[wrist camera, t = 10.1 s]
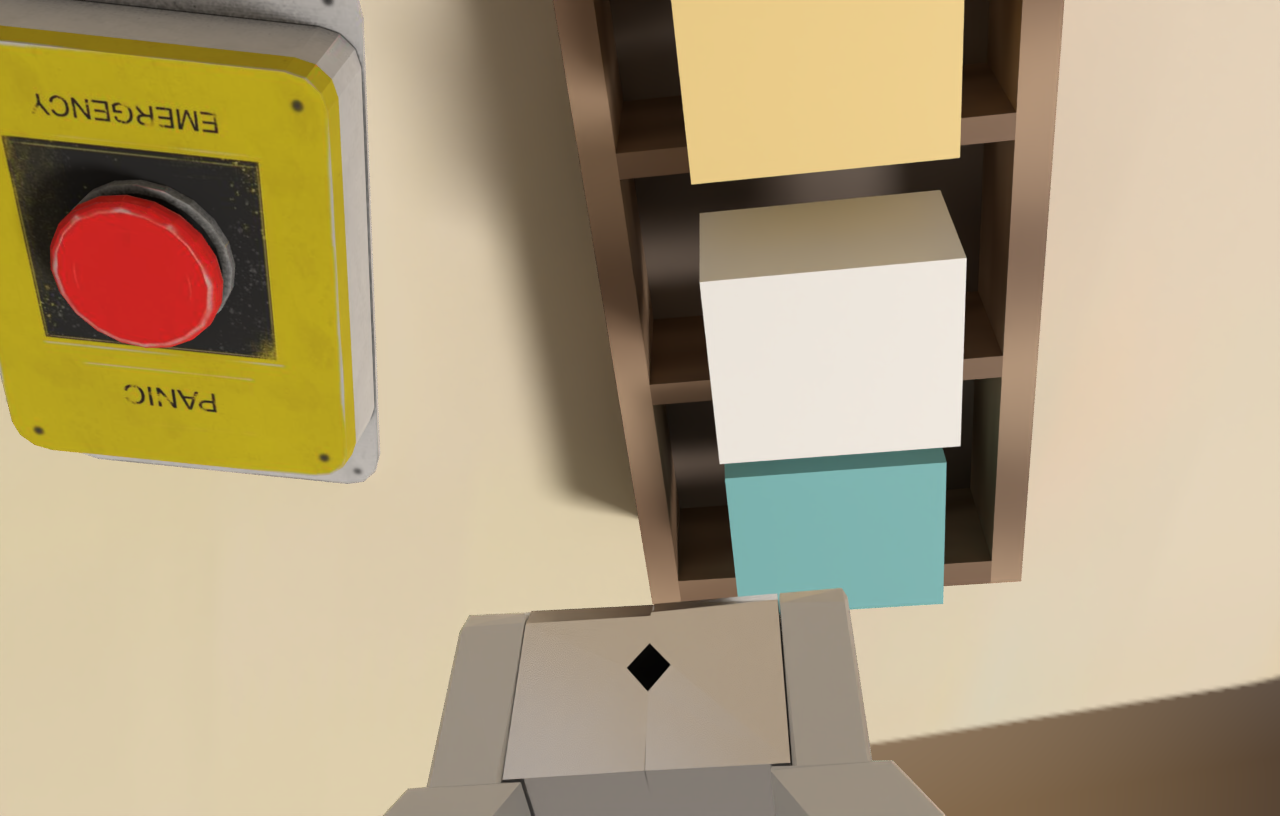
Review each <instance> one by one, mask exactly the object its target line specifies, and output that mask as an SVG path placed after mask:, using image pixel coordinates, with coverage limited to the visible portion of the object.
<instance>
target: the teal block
mask: <svg viewBox="0 0 1280 816" xmlns="http://www.w3.org/2000/svg"><path fill="white" fill-rule="evenodd" d="M946 465H947V462H946V459H945V455H944V451H943V448H929V449H916V450H902V451H889V452H875V453H862V454H849V455H835V456H822V457H808V458H795V459H781V460H768V461H755V462H741V463H728V464H725V484H726V493H727V502H728V511H729V521H730V530H731V539H732V548H733V557H734V567H735V576H736V585H737V594H738V597H741V596H753V595H765V594H778V603H779V596H780V593H788V592H800V591H812V590H823V589H835V588H842V589H843V591H844V592H845V594H846V595H847V597H848V603H849V609H864V608H881V607H897V606H913V605H930V604H943V586H944V545H945V505H946ZM779 612H780V607H779Z"/></svg>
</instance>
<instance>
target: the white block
mask: <svg viewBox="0 0 1280 816" xmlns="http://www.w3.org/2000/svg"><path fill="white" fill-rule="evenodd" d="M966 262H967V258H966V255H965V252H964V250H963V247H962V245H961V242H960V240H959V237H958V235H957V232H956V229H955V227H954V224H953V222H952V219H951V217H950V214H949V211H948V209H947V206H946V204H945V201H944V199H943V196H942V193H941V191H940V190H934V191H924V192H914V193H903V194H893V195H883V196H872V197H862V198H852V199H841V200H831V201H821V202H810V203H800V204H790V205H779V206H769V207H759V208H748V209H738V210H728V211H717V212H707V213H700V291H701V300H702V309H703V318H704V327H705V336H706V345H707V354H708V363H709V372H710V381H711V390H712V399H713V408H714V417H715V426H716V435H717V444H718V453H719V462H720V464H728V463H741V462H755V461H768V460H781V459H795V458H808V457H822V456H835V455H849V454H862V453H875V452H889V451H902V450H916V449H929V448H943V447H956V446H960V445H961V414H962V384H963V353H964V323H965V292H966Z"/></svg>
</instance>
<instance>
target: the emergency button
mask: <svg viewBox="0 0 1280 816" xmlns="http://www.w3.org/2000/svg"><path fill="white" fill-rule="evenodd" d="M0 375H1V379H2V383H3V387H4V391H5V395H6V399H7V403H8V407H9V411H10V415H11V419H12V422H13V424H14V425H15V427H16V429H17V430H18V432H19V434H20V435H21V436H23V437H24V438H26V439H27V440H28V441H30V442H31V443H33V444H34V445H37V446H41V447H44V448H48V449H51V450H59V451H69V452H79V453H83V454H86V455H89V456H92V457H95V458H98V459H106V460H116V461H126V462H136V463H146V464H156V465H166V466H176V467H186V468H196V469H206V470H215V471H225V472H235V473H245V474H255V475H265V476H275V477H285V478H295V479H305V480H315V481H325V482H335V483H345V484H350V483H357V482H364V481H365V480H366V479H367V478H368V477H370V476H371V475H372V474H373V473H374V472H375V470H376V468H377V464H378V460H379V456H380V439H379V413H378V386H377V360H376V333H375V306H374V280H373V253H372V227H371V200H370V173H369V147H368V120H367V94H366V67H365V41H364V18H363V14H362V10H361V6H360V2H359V0H0Z"/></svg>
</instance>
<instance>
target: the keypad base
mask: <svg viewBox="0 0 1280 816" xmlns="http://www.w3.org/2000/svg"><path fill="white" fill-rule="evenodd" d="M553 3H554V9H555V15H556V21H557V27H558V34H559V40H560V46H561V52H562V58H563V64H564V70H565V76H566V82H567V88H568V94H569V100H570V106H571V112H572V118H573V124H574V131H575V137H576V143H577V149H578V155H579V161H580V167H581V173H582V179H583V185H584V191H585V197H586V203H587V209H588V215H589V221H590V227H591V234H592V240H593V246H594V252H595V258H596V264H597V270H598V276H599V282H600V288H601V294H602V300H603V306H604V312H605V318H606V324H607V331H608V337H609V343H610V349H611V355H612V361H613V367H614V373H615V379H616V385H617V391H618V397H619V403H620V409H621V415H622V421H623V427H624V434H625V440H626V446H627V452H628V458H629V464H630V470H631V476H632V482H633V488H634V494H635V500H636V506H637V512H638V518H639V524H640V531H641V537H642V543H643V549H644V555H645V561H646V567H647V573H648V579H649V585H650V591H651V597H652V603H653V604H658V603H670V602H682V601H694V600H706V599H717V598H729V597H738V594H737V585H736V576H735V567H734V557H733V548H732V539H731V530H730V521H729V511H728V502H727V493H726V484H725V464H720V462H719V453H718V444H717V435H716V426H715V417H714V408H713V399H712V390H711V381H710V372H709V363H708V354H707V345H706V336H705V327H704V318H703V309H702V300H701V291H700V213H707V212H717V211H728V210H738V209H748V208H759V207H769V206H779V205H790V204H800V203H810V202H821V201H831V200H841V199H852V198H862V197H872V196H883V195H893V194H903V193H914V192H924V191H934V190H940V191H941V193H942V196H943V199H944V201H945V204H946V206H947V209H948V211H949V214H950V217H951V219H952V222H953V224H954V227H955V229H956V232H957V235H958V237H959V240H960V242H961V245H962V247H963V250H964V252H965V255H966V258H967V262H966V292H965V323H964V353H963V384H962V414H961V445H960V446H956V447H943V451H944V455H945V459H946V462H947V465H946V505H945V545H944V586H952V585H968V584H984V583H1000V582H1016V581H1021V574H1022V561H1023V548H1024V534H1025V521H1026V507H1027V494H1028V480H1029V467H1030V454H1031V440H1032V427H1033V413H1034V400H1035V387H1036V373H1037V360H1038V346H1039V333H1040V320H1041V306H1042V293H1043V279H1044V266H1045V253H1046V239H1047V226H1048V212H1049V199H1050V186H1051V172H1052V159H1053V145H1054V132H1055V118H1056V105H1057V92H1058V78H1059V65H1060V51H1061V38H1062V25H1063V11H1064V0H964V30H963V66H962V102H961V138H960V158H953V159H943V160H933V161H923V162H913V163H903V164H893V165H883V166H872V167H862V168H852V169H842V170H832V171H822V172H812V173H802V174H792V175H782V176H772V177H762V178H752V179H742V180H732V181H722V182H712V183H702V184H692V185H691V177H690V168H689V158H688V149H687V140H686V131H685V122H684V113H683V104H682V95H681V85H680V76H679V67H678V58H677V49H676V40H675V31H674V22H673V12H672V3H671V0H553Z"/></svg>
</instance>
